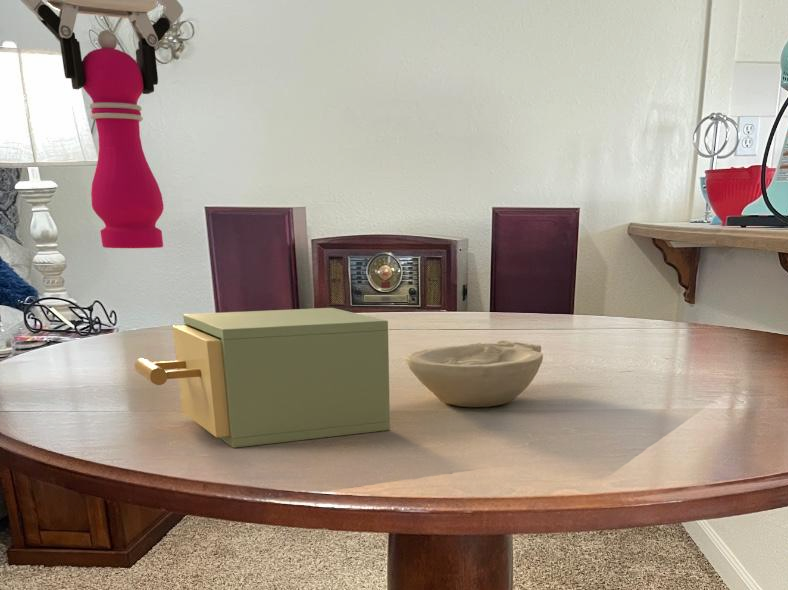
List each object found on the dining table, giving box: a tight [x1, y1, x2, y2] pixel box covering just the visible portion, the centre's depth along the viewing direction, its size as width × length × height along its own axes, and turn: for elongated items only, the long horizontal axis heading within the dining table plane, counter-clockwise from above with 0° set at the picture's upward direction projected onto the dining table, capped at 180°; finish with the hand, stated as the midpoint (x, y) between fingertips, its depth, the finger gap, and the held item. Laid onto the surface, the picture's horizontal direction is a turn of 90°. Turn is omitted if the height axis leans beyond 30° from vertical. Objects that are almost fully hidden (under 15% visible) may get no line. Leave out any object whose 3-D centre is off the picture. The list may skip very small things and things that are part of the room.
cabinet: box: [182, 307, 391, 449], centre depth 81 cm, size 15×13×10 cm
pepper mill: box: [82, 29, 165, 249], centre depth 92 cm, size 7×7×20 cm
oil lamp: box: [405, 340, 544, 408], centre depth 96 cm, size 21×14×5 cm
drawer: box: [134, 324, 230, 438], centre depth 79 cm, size 18×11×8 cm, turn 119°
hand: (113, 88), depth 90 cm, fingers closed on pepper mill, 6 cm apart
